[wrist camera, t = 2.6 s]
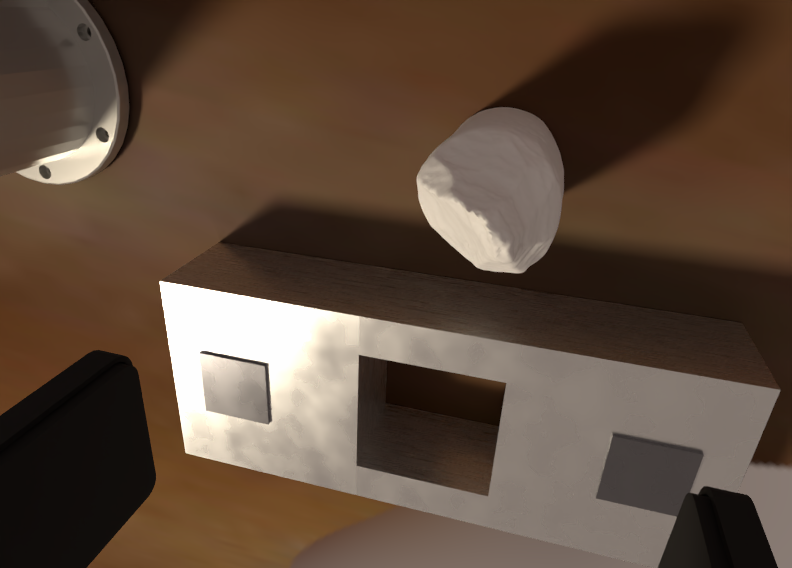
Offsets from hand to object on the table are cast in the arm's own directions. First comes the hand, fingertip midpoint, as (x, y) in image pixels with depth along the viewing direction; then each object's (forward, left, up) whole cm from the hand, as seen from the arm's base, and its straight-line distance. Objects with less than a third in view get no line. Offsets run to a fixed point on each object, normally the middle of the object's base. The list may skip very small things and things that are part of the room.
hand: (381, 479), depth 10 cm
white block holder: (+13, -2, -23) cm, 26 cm away
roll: (0, 0, -23) cm, 23 cm away
